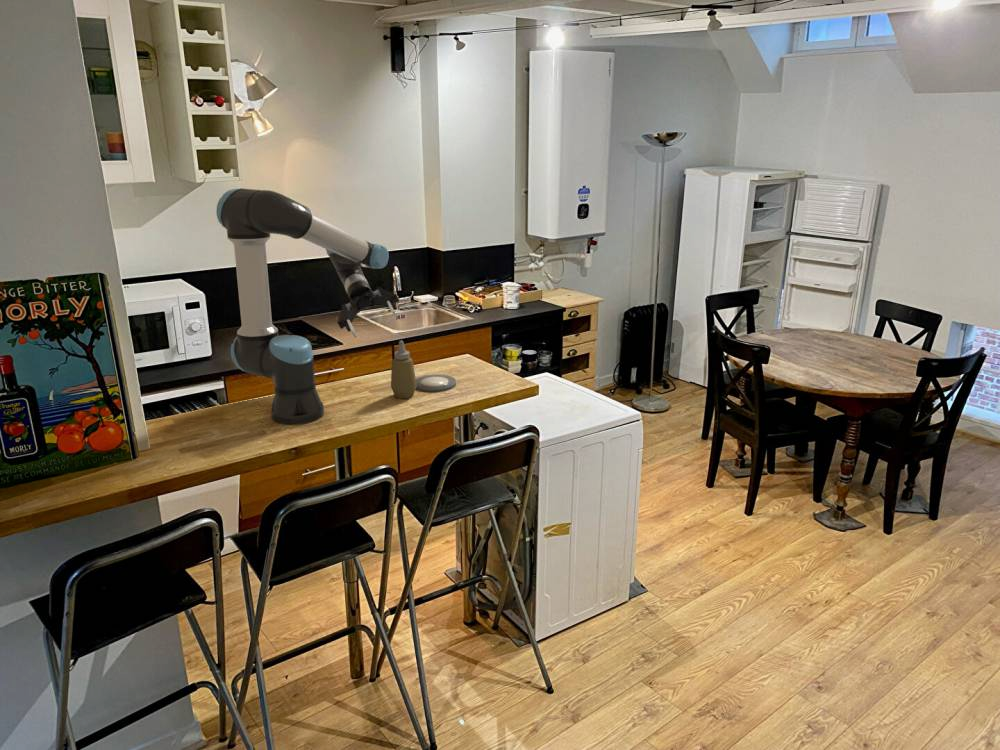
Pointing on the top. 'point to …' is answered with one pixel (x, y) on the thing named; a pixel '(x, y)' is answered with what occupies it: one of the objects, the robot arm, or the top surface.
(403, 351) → the squeeze bottle
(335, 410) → the top surface
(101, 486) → the top surface
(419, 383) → the coaster
